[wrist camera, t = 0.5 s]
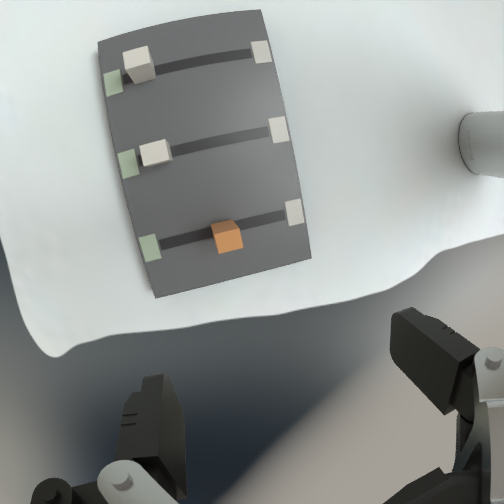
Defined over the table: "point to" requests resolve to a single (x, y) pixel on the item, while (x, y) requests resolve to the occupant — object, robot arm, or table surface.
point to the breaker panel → (203, 148)
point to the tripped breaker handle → (227, 236)
